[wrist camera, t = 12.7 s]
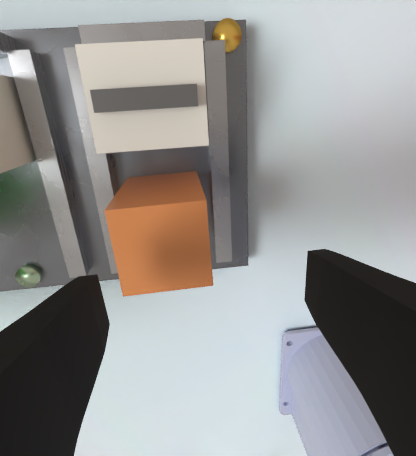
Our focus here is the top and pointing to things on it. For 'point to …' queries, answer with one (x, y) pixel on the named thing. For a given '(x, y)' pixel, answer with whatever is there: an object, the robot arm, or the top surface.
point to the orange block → (160, 233)
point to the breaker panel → (112, 162)
